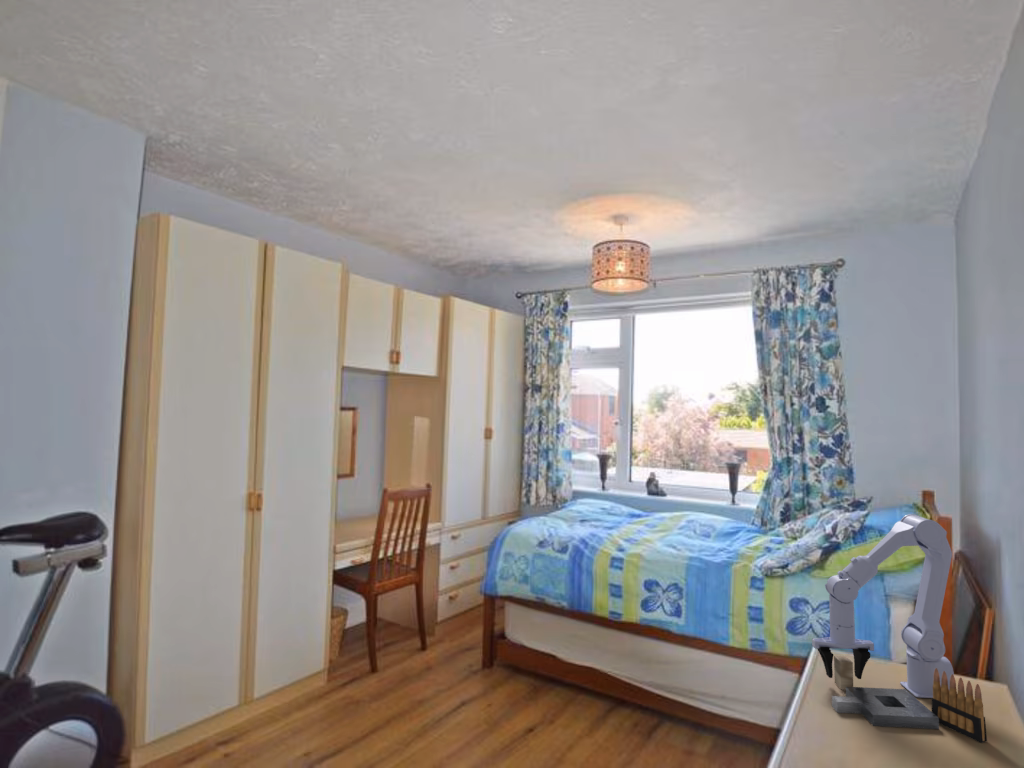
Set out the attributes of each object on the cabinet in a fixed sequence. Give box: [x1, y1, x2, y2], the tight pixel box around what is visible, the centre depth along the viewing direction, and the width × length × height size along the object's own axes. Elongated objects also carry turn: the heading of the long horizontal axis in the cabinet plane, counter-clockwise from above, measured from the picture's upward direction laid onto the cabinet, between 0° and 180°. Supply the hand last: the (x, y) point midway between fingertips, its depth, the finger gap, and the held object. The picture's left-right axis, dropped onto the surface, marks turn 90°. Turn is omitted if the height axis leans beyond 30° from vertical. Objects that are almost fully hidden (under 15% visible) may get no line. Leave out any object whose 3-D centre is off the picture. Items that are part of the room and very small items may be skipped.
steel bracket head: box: [831, 686, 940, 730], centre depth 143 cm, size 20×14×2 cm
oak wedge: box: [833, 655, 854, 691], centre depth 156 cm, size 3×4×7 cm
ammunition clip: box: [931, 668, 988, 744], centre depth 135 cm, size 11×2×12 cm, turn 22°
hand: (843, 676), depth 156 cm, fingers open, 6 cm apart
